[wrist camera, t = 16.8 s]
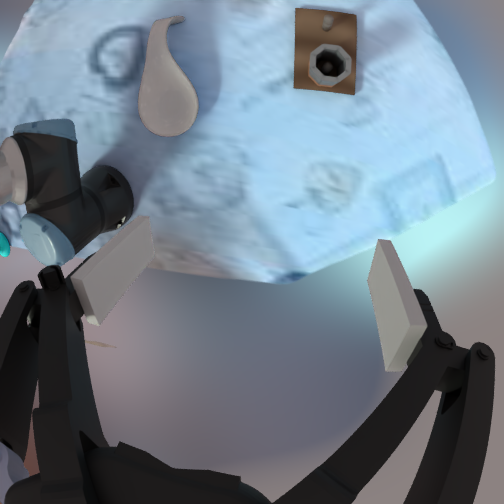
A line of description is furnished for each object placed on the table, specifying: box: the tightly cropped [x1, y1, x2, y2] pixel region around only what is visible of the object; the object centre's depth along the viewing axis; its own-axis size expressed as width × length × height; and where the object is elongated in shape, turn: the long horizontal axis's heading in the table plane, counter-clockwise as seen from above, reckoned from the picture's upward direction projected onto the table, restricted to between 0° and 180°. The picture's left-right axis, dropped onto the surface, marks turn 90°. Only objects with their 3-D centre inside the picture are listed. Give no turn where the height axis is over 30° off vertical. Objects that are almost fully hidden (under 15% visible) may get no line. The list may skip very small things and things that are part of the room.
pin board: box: [294, 8, 357, 95], centre depth 34 cm, size 15×10×8 cm, turn 179°
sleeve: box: [308, 44, 352, 87], centre depth 34 cm, size 5×5×11 cm
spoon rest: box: [138, 16, 199, 137], centre depth 41 cm, size 24×12×7 cm, turn 1°
